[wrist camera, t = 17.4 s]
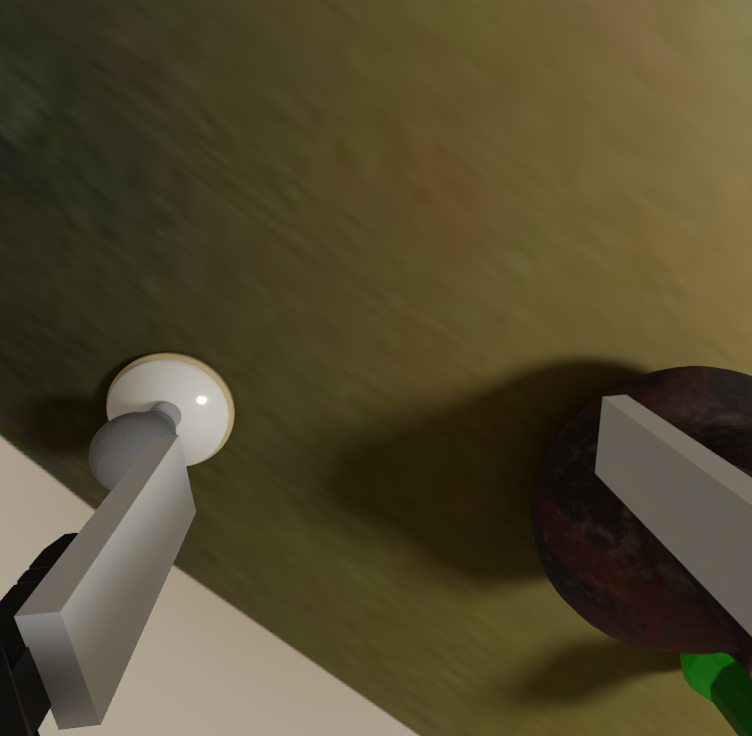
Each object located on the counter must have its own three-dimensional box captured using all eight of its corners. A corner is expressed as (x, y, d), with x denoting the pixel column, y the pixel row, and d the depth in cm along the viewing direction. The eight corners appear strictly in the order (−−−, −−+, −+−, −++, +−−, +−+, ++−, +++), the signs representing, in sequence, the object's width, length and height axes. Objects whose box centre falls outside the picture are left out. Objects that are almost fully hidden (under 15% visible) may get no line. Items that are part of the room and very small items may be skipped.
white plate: (97, 357, 42) (87, 364, 40) (223, 345, 42) (219, 351, 40) (128, 467, 45) (120, 477, 43) (244, 454, 46) (241, 464, 44)
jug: (530, 589, 54) (683, 890, 30) (479, 391, 46) (635, 593, 22) (747, 522, 53) (1076, 776, 30) (736, 309, 45) (1179, 426, 21)
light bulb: (166, 456, 43) (119, 527, 34) (116, 408, 41) (51, 469, 32) (217, 418, 42) (184, 480, 33) (168, 367, 40) (117, 418, 31)
